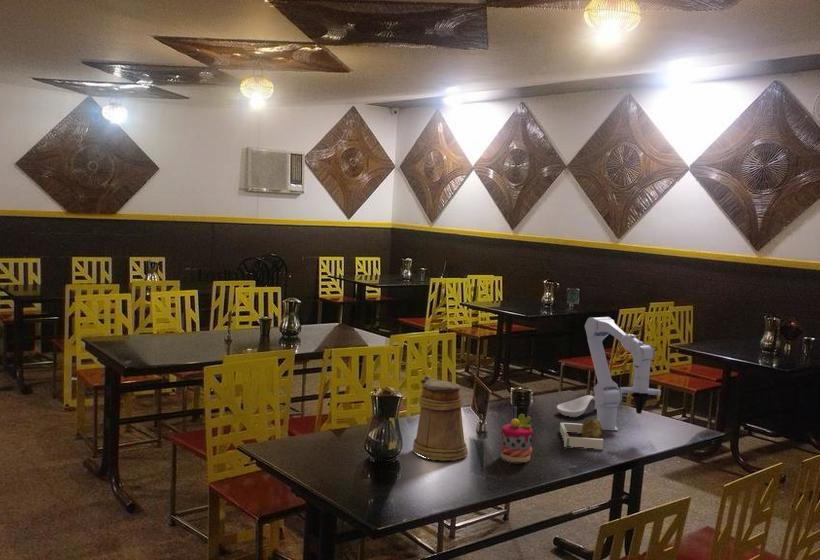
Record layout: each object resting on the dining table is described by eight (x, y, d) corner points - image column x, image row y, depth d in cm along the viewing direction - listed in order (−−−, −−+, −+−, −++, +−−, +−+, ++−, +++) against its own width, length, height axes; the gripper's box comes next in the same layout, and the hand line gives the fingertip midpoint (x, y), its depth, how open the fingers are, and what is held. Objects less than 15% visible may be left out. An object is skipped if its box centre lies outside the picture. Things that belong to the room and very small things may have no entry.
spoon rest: (571, 421, 304) (572, 404, 303) (550, 414, 313) (551, 397, 313) (610, 414, 317) (611, 397, 317) (588, 407, 327) (589, 391, 326)
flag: (563, 447, 268) (564, 429, 267) (566, 447, 268) (567, 429, 267) (564, 450, 265) (565, 432, 264) (567, 450, 265) (568, 432, 264)
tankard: (431, 466, 243) (435, 391, 240) (396, 445, 263) (399, 375, 261) (477, 458, 252) (481, 386, 250) (440, 439, 272) (443, 371, 270)
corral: (559, 431, 288) (560, 422, 288) (594, 433, 287) (594, 424, 287) (565, 447, 269) (566, 437, 268) (602, 449, 268) (603, 440, 267)
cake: (523, 466, 246) (526, 422, 245) (494, 460, 251) (497, 416, 250) (535, 458, 255) (538, 415, 253) (507, 452, 260) (509, 410, 259)
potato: (574, 444, 272) (575, 423, 271) (584, 435, 283) (586, 415, 283) (596, 448, 268) (598, 427, 267) (606, 440, 279) (607, 419, 278)
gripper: (623, 378, 275) (621, 414, 277) (663, 380, 274) (661, 417, 275) (619, 374, 282) (617, 409, 284) (659, 376, 281) (656, 411, 282)
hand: (638, 412), depth 280 cm, fingers closed
